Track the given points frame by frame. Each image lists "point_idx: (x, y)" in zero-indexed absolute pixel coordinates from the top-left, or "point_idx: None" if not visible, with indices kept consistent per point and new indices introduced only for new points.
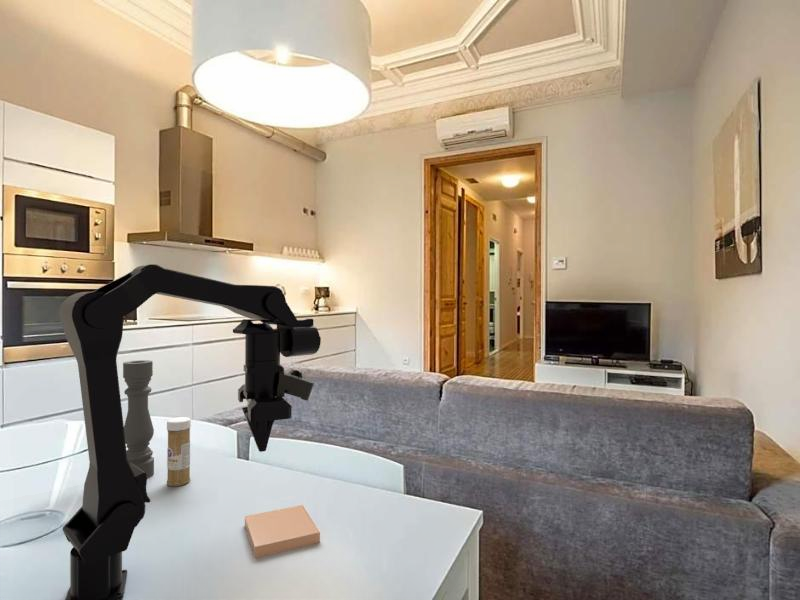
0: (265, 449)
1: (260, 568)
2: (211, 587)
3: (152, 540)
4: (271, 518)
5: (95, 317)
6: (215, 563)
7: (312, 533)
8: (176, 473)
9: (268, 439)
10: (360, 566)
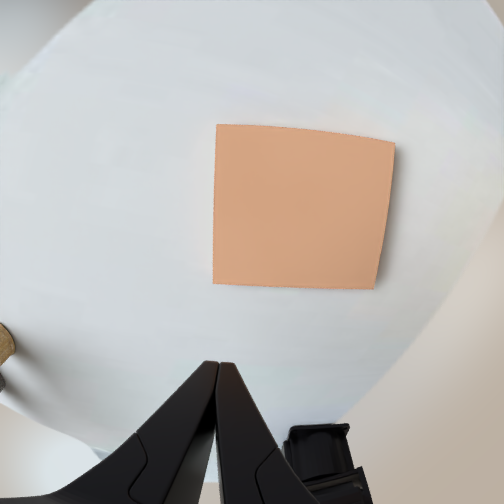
0: (234, 368)
1: (403, 277)
2: (398, 345)
3: None
4: (261, 227)
5: None
6: (340, 339)
7: (391, 160)
8: (2, 356)
9: (256, 409)
10: (480, 125)
